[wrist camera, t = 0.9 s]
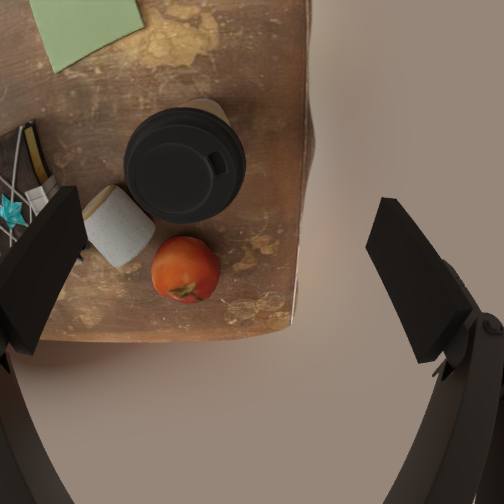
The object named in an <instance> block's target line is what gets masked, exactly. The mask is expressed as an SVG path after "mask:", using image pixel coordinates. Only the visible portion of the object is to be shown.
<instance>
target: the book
mask: <svg viewBox="0 0 504 504" xmlns="http://www.w3.org/2000/svg"><path fill="white" fill-rule="evenodd" d="M34 121H35V119H32V120H30V122H28V123H26V124H23V125H21V126H20V127H18V128H16V129H14V130H12V131H10V132H8V133H6V134H5V135H3V136H1V137H0V254H1V255H2V254H3V253H4V252H5V251H6V250H8V249H9V248H10V247H13V246H14V244H15V243H16V242H17V240H18V239H19V238H20V236H21V235H22V234H23V232H24V231H25V230H26V229H27V227H28V226H29V225H30V223H31V222H32V221H33V220H34V218H35V217H36V216H37V215H38V214H39V212H40V211H41V210H42V209H43V207H44V206H45V205H46V204H47V203H48V202H49V200H50V199H51V198H52V197H53V196H54V195H55V193H56V192H57V191H58V190H59V189H60V188H59V185H58V183H57V181H56V178H55V176H54V174H52V175H50V174H49V172H48V170H47V167H46V165H45V163H44V160H43V156H42V153H41V150H40V146H39V142H38V139H37V135H36V131H35V127H34ZM89 247H90V246H89V245H87V244H86V243H85V245H84V247H83V248H82V250H86V251H87V250H88V249H89ZM83 259H84V258H83V257H81V255H80V254H79V256H78V258H77V260H76V261H78V262H79V263H82V261H83Z"/></svg>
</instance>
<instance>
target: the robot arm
mask: <svg viewBox="0 0 504 504" xmlns="http://www.w3.org/2000/svg"><path fill="white" fill-rule="evenodd" d="M87 239H88V236H87V232H86V228H85V224H84V219H83V215H82V210H81V206H80V201H79V196H78V191H77V186H62V187H61V188H60V189H59V190H58V191H57V192H56V193H55V195H54V196H53V197H52V198H51V199H50V200H49V202H48V203H47V204H46V205H45V206H44V207H43V209H42V210H41V211H40V212H39V214H38V215H37V216H36V217H35V218H34V220H33V221H32V222H31V223H30V225H29V226H28V227H27V229H26V230H25V231H24V232H23V234H22V235H21V236H20V238H19V239H18V240H17V242H16V243H15V244H14V246H13V247H10V248H9V249H8V250H6V251H5V252H4V253H3V254H2V255H1V256H0V504H74V502H73V501H72V499H71V497H70V495H69V494H68V492H67V491H66V489H65V487H64V485H63V483H62V482H61V480H60V478H59V476H58V474H57V473H56V471H55V469H54V467H53V465H52V463H51V461H50V459H49V457H48V455H47V453H46V451H45V449H44V447H43V445H42V442H41V440H40V438H39V436H38V433H37V431H36V429H35V427H34V424H33V422H32V420H31V417H30V415H29V412H28V409H27V407H26V404H25V401H24V399H23V396H22V393H21V390H20V387H19V385H18V382H17V378H16V375H15V372H14V369H13V365H12V362H11V359H10V355H9V354H8V352H7V350H6V348H7V345H8V343H9V342H10V344H11V345H12V347H13V348H14V350H15V351H16V352H18V353H22V354H27V355H31V356H32V355H33V353H34V351H35V348H36V345H37V343H38V341H39V338H40V336H41V334H42V331H43V329H44V326H45V324H46V322H47V320H48V317H49V315H50V313H51V311H52V308H53V306H54V304H55V302H56V300H57V298H58V295H59V293H60V291H61V289H62V287H63V285H64V283H65V281H66V279H67V277H68V275H69V273H70V271H71V269H72V267H73V265H74V263H75V261H76V260H77V258H78V256H79V254H80V252H81V250H82V248H83V247H84V245H85V243H86V241H87ZM366 250H367V252H368V254H369V255H370V258H371V260H372V262H373V263H374V265H375V267H376V269H377V271H378V274H379V276H380V278H381V280H382V282H383V284H384V286H385V288H386V290H387V292H388V295H389V297H390V299H391V301H392V303H393V305H394V308H395V310H396V312H397V314H398V316H399V318H400V321H401V323H402V325H403V328H404V330H405V332H406V335H407V337H408V339H409V342H410V344H411V347H412V349H413V352H414V354H415V357H416V359H417V362H418V364H419V363H426V362H431V361H435V360H436V359H437V357H438V356H439V355H440V354H441V352H442V351H444V354H445V356H446V359H445V360H444V361H443V362H442V363H441V365H440V366H439V367H438V368H437V369H436V371H435V372H434V373H433V375H432V377H434V376H435V375H436V374H437V373H439V375H438V378H437V381H436V384H435V387H434V390H433V393H432V396H431V399H430V402H429V404H428V407H427V410H426V412H425V415H424V418H423V420H422V423H421V425H420V428H419V430H418V433H417V435H416V437H415V440H414V442H413V444H412V447H411V449H410V451H409V453H408V455H407V458H406V460H405V462H404V464H403V466H402V468H401V470H400V472H399V474H398V476H397V478H396V480H395V482H394V484H393V486H392V488H391V490H390V491H389V493H388V495H387V497H386V499H385V501H384V502H383V504H472V503H473V500H474V498H475V495H476V499H475V504H504V327H503V325H502V323H501V322H500V321H499V320H498V319H497V318H496V317H495V316H494V315H492V314H489V313H482V312H481V310H480V309H479V307H478V305H477V304H476V302H475V300H474V299H473V297H472V295H471V294H470V293H469V291H468V289H467V288H466V287H465V285H464V283H463V282H462V280H461V279H460V277H459V276H458V274H457V273H456V271H455V270H454V268H453V267H452V266H451V265H449V264H448V263H447V262H446V261H445V260H442V259H441V258H440V256H439V255H438V253H437V252H436V251H435V249H434V248H433V246H432V245H431V244H430V242H429V241H428V239H427V238H426V237H425V235H424V234H423V233H422V231H421V230H420V229H419V227H418V226H417V225H416V223H415V222H414V221H413V220H412V218H411V217H410V216H409V215H408V213H407V212H406V211H405V209H404V208H403V207H402V205H401V204H400V203H399V202H398V201H397V199H393V198H384V197H382V198H381V201H380V204H379V208H378V211H377V214H376V217H375V220H374V223H373V227H372V230H371V233H370V235H369V238H368V242H367V244H366Z"/></svg>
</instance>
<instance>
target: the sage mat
mask: <svg viewBox="0 0 504 504" xmlns="http://www.w3.org/2000/svg"><path fill="white" fill-rule="evenodd" d="M29 2H30V5H31V8H32V11H33V14H34V18H35V21H36V24H37V27H38V30H39V33H40V35H41V38H42V41H43V44H44V47H45V49H46V52H47V55H48V57H49V60H50V63H51V65H52V68H53V70H54V73H55V74H57V73H59V72H60V71H62V70H63V69H65V68H67V67H68V66H70V65H72V64H73V63H75V62H77V61H78V60H80V59H82V58H84V57H85V56H87V55H89V54H91V53H93V52H94V51H96V50H98V49H100V48H102V47H104V46H106V45H108V44H110V43H112V42H114V41H116V40H118V39H120V38H122V37H124V36H126V35H128V34H131V33H133V32H135V31H137V30H140V29H142V28H144V27H145V24H144V21H143V19H142V16H141V13H140V10H139V8H138V5H137V2H136V0H29Z"/></svg>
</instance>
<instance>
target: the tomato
mask: <svg viewBox="0 0 504 504" xmlns="http://www.w3.org/2000/svg"><path fill="white" fill-rule="evenodd" d="M151 274H152V281H153V285H154V288H155V289H156V290H157V291H158V292H159V293H160V294H161V295H162V296H164V297H168V298H170V299H173V300H175V301H178V302H182V303H185V304H187V303H196V302H200V301H203V300H206V299H208V298H209V297H210V296H211V294H212V293H213V291H214V290H215V288H216V286H217V283H218V280H219V275H220V265H219V260H218V258H217V257H216V255H215V254H214V253H213V251H212V250H211V249H210V248H209V247H208V246H207V245H206V244H205V243H204V242H202V241H201V240H199V239H196V238H193V237H187V236H177V237H173V238H169V239H167V240H166V241H165V242H164V243H163V244H162V245H161V246H160V248H159V249H158V251H157V253H156V256H155V258H154V260H153V263H152V266H151Z"/></svg>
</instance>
